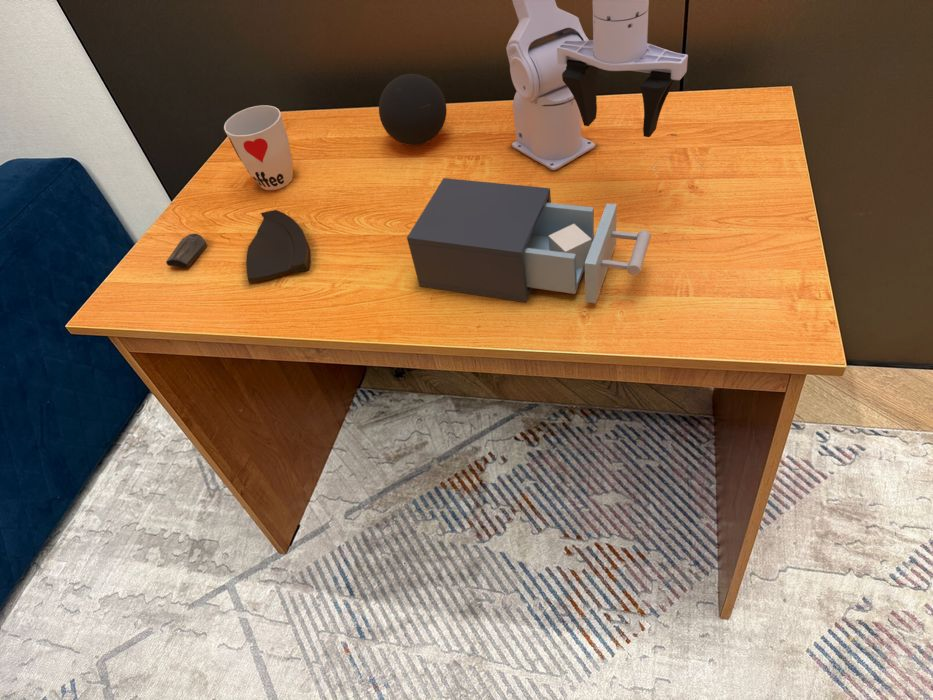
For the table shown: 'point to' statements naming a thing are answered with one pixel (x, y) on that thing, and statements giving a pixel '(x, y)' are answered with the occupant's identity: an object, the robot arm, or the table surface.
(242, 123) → the cup
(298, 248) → the dark sector wedge
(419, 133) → the black ball
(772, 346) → the table surface
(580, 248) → the beige cube
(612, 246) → the drawer
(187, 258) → the block
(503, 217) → the cabinet
